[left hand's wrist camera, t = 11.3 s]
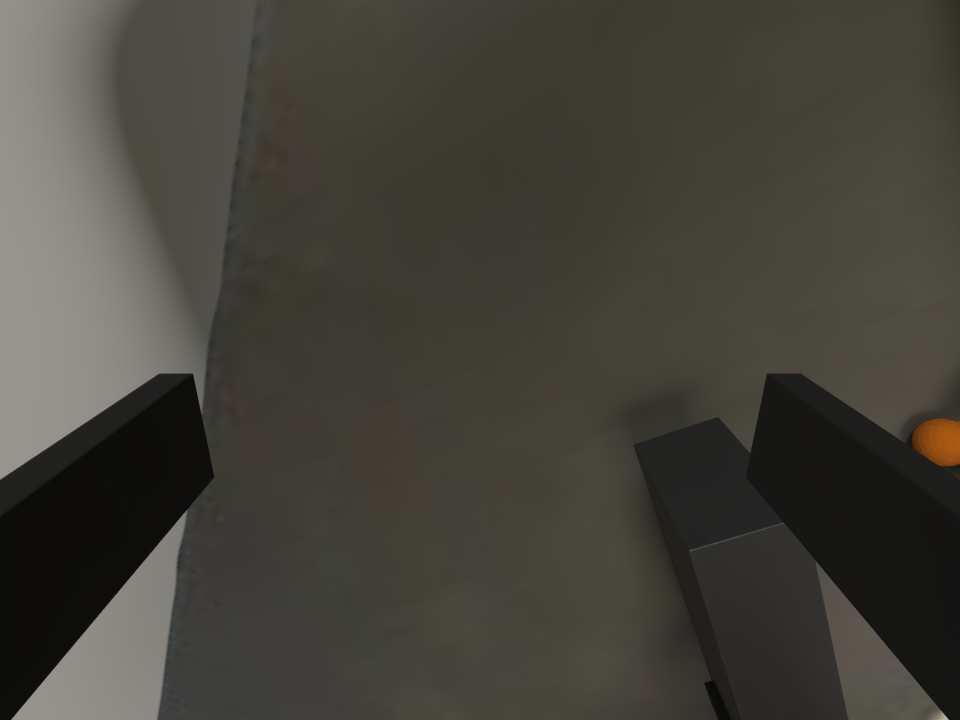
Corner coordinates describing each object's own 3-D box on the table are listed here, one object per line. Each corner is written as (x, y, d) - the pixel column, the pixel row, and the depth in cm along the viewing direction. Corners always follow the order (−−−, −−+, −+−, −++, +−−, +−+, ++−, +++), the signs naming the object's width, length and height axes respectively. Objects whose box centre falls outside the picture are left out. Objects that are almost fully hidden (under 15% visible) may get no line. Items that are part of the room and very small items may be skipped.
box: (633, 444, 38) (688, 551, 28) (718, 416, 37) (806, 516, 27) (720, 707, 48) (784, 856, 38) (789, 690, 47) (873, 838, 37)
